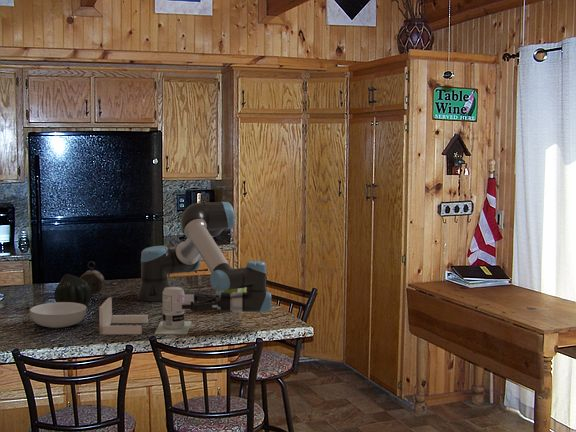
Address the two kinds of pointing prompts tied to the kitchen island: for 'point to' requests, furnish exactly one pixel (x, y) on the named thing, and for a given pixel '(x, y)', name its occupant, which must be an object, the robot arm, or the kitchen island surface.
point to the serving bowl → (58, 314)
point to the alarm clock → (94, 280)
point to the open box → (118, 321)
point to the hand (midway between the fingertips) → (175, 302)
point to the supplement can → (170, 316)
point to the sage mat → (173, 331)
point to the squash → (72, 290)
